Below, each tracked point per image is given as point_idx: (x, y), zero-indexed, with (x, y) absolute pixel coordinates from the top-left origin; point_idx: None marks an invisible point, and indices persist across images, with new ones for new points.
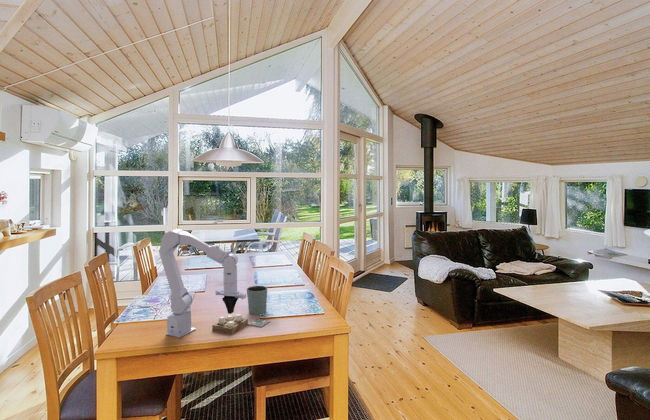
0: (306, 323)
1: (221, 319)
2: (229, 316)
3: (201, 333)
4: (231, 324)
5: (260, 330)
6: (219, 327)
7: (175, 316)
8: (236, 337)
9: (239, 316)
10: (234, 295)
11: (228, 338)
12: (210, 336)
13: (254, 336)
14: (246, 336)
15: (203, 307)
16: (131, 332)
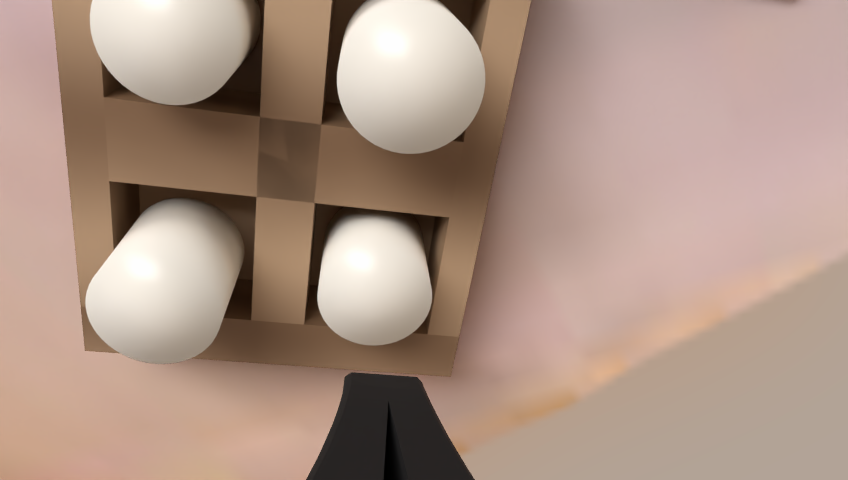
0: None
1: (194, 352)
2: (162, 48)
3: (53, 406)
4: (410, 322)
5: (798, 105)
6: (235, 351)
7: None
8: (543, 373)
9: (458, 134)
10: None
11: (463, 417)
12: (227, 435)
13: (752, 294)
14: (653, 320)
15: None
16: None
